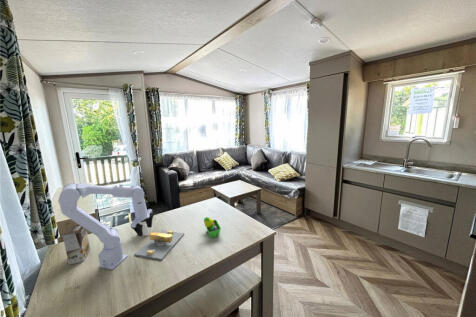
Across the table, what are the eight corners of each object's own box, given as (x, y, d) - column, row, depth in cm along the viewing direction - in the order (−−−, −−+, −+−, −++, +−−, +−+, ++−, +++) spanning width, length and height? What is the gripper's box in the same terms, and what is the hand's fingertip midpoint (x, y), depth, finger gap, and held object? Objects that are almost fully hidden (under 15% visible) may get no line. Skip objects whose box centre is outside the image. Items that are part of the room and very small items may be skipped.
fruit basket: (221, 236, 112) (220, 219, 110) (206, 240, 109) (205, 222, 107) (216, 226, 123) (215, 210, 120) (202, 229, 120) (201, 213, 117)
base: (161, 260, 94) (161, 256, 94) (134, 255, 98) (134, 251, 97) (184, 234, 115) (183, 231, 114) (161, 231, 119) (160, 228, 118)
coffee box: (84, 261, 94) (78, 232, 91) (68, 265, 92) (61, 235, 89) (91, 249, 103) (85, 223, 100) (76, 253, 101) (70, 225, 97)
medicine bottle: (154, 229, 121) (151, 212, 119) (147, 236, 114) (145, 217, 112) (143, 228, 122) (141, 211, 119) (136, 235, 115) (134, 217, 112)
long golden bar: (167, 246, 101) (166, 239, 100) (146, 242, 104) (145, 236, 103) (174, 238, 108) (174, 232, 107) (155, 235, 111) (154, 229, 110)
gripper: (137, 216, 90) (143, 240, 94) (155, 202, 104) (159, 223, 108) (124, 216, 92) (130, 240, 95) (144, 201, 106) (148, 223, 109)
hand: (145, 231), depth 101 cm, fingers open, 7 cm apart
